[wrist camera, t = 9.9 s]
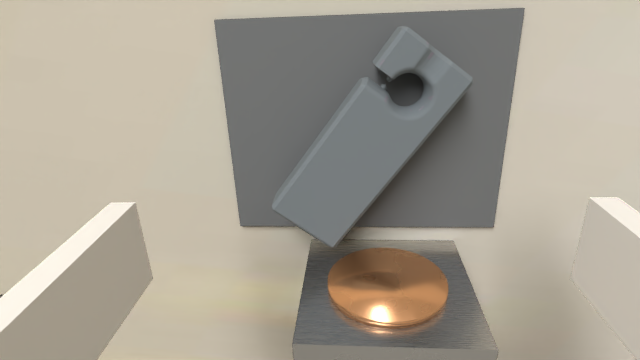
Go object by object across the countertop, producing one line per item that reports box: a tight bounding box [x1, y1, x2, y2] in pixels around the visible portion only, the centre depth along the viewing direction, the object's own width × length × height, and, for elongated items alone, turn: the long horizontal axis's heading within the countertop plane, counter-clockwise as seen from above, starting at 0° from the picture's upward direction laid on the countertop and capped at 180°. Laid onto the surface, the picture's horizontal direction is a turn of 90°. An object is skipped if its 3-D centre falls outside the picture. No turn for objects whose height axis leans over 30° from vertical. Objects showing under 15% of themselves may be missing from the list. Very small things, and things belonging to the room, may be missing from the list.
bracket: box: [272, 26, 473, 248], centre depth 20 cm, size 4×10×2 cm, turn 145°
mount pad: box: [214, 8, 525, 227], centre depth 21 cm, size 14×11×1 cm
